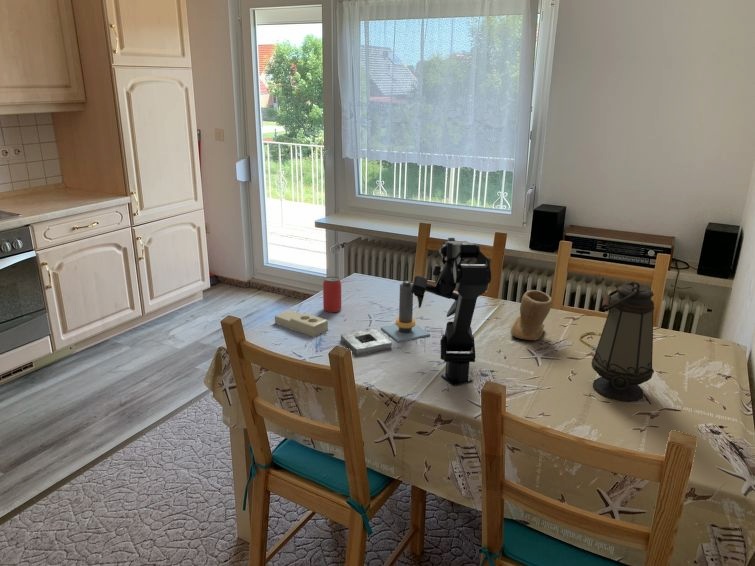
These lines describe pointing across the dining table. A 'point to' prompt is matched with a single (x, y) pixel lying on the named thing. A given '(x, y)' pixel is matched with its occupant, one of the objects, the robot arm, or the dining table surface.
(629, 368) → the lantern
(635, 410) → the dining table surface
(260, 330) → the dining table surface
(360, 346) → the socket block
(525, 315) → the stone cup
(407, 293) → the plug
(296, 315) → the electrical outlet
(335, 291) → the beer can
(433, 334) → the dining table surface
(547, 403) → the dining table surface
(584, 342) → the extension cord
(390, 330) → the mat
